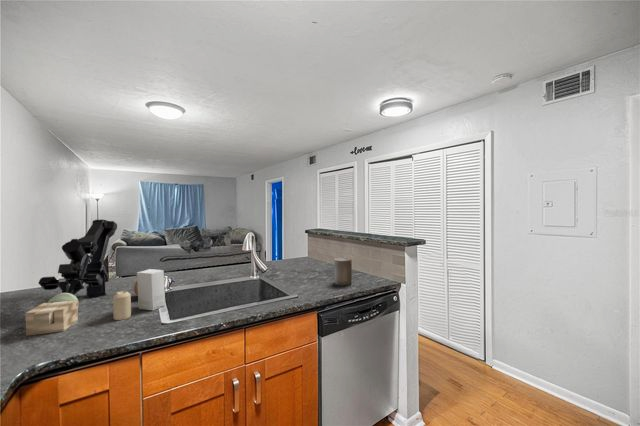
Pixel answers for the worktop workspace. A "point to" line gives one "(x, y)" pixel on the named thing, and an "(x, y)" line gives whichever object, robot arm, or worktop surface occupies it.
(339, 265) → the pillar candle
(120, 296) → the candle
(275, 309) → the worktop surface
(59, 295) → the plunger
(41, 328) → the block
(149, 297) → the skincare box
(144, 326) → the worktop surface
